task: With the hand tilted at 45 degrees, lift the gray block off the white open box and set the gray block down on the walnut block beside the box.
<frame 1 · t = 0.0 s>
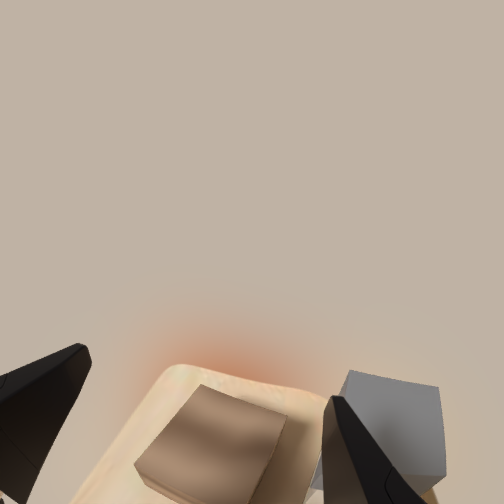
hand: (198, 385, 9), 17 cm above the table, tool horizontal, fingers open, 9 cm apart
walnut block: (215, 466, 19), on the table
gray block: (372, 451, 15), point 6 cm above the table, touching white open box
white open box: (342, 484, 17), on the table
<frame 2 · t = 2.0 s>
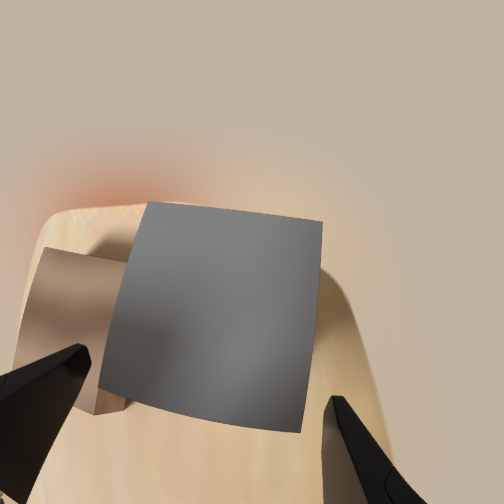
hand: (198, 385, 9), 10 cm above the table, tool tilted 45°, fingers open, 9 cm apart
walnut block: (92, 334, 19), on the table
gray block: (222, 325, 14), point 6 cm above the table, touching white open box
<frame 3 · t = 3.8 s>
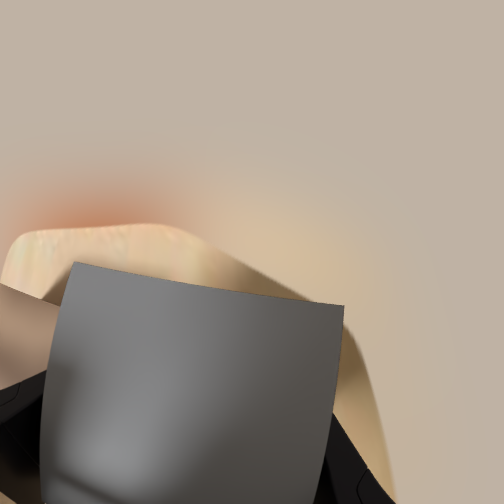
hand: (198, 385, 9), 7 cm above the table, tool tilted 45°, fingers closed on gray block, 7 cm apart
walnut block: (60, 382, 15), on the table
gray block: (195, 419, 9), point 6 cm above the table, touching gripper, white open box
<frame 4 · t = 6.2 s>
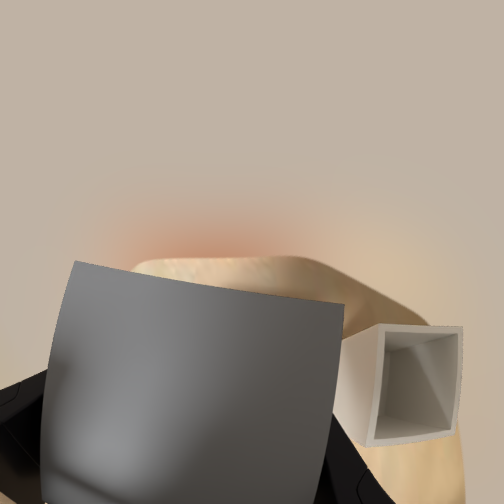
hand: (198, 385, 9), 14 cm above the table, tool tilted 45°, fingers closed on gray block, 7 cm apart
gray block: (196, 418, 9), point 13 cm above the table, touching gripper
white open box: (359, 383, 21), on the table
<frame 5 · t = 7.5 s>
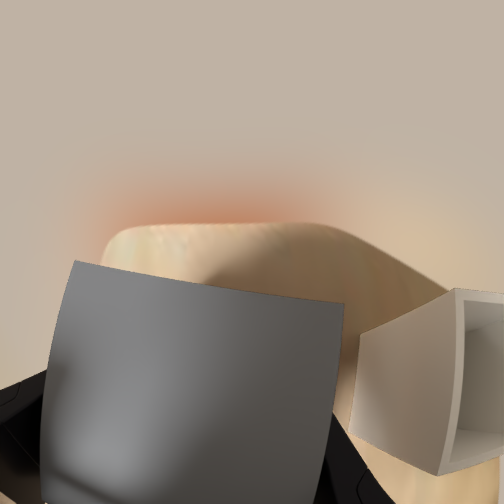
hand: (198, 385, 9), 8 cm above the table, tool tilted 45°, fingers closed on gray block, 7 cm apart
gray block: (195, 418, 9), point 7 cm above the table, touching gripper
white open box: (395, 383, 15), on the table
when the fingers open (7 cm above the table, at t = 8.4 s): gray block drops 1 cm, resting on walnut block.
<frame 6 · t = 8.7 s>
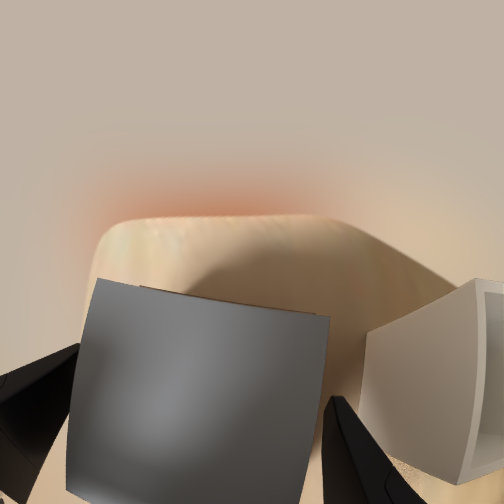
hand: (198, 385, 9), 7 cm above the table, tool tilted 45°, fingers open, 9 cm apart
gray block: (203, 413, 10), point 4 cm above the table, touching walnut block
white open box: (403, 384, 14), on the table
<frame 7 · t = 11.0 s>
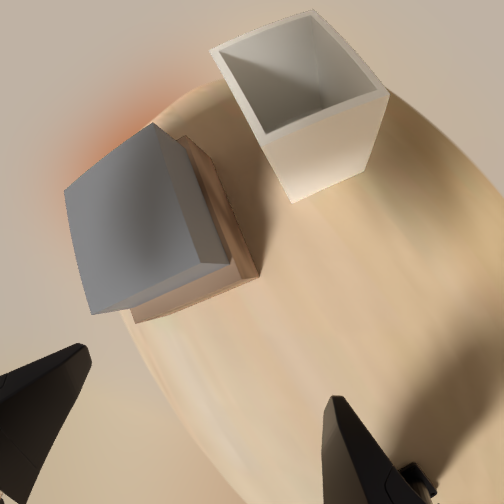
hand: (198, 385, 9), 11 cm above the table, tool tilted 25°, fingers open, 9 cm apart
walnut block: (187, 236, 22), on the table
gray block: (156, 228, 17), point 4 cm above the table, touching walnut block
white open box: (308, 149, 20), on the table
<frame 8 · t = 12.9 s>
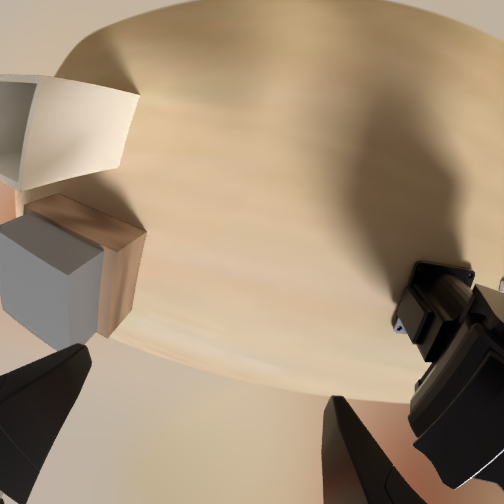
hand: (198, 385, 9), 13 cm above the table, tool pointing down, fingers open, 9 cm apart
walnut block: (91, 252, 23), on the table
gray block: (60, 272, 19), point 4 cm above the table, touching walnut block
white open box: (97, 123, 19), on the table
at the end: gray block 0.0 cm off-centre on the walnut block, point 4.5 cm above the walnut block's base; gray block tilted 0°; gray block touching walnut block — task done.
